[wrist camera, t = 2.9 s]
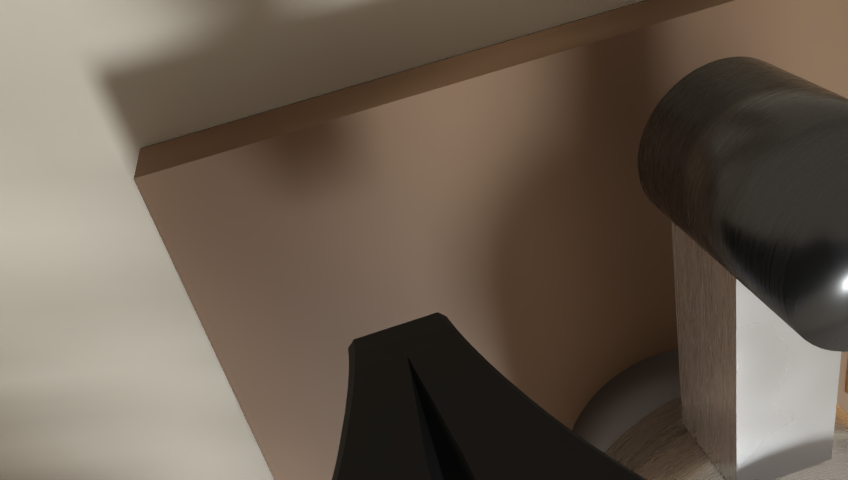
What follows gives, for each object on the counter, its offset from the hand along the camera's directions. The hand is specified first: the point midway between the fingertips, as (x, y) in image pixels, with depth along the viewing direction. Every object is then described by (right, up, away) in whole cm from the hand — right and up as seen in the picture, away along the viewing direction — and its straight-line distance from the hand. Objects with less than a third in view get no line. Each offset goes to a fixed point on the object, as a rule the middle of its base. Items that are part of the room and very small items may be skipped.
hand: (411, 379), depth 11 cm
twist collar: (+5, -1, +3) cm, 6 cm away
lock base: (+5, -2, +7) cm, 9 cm away
